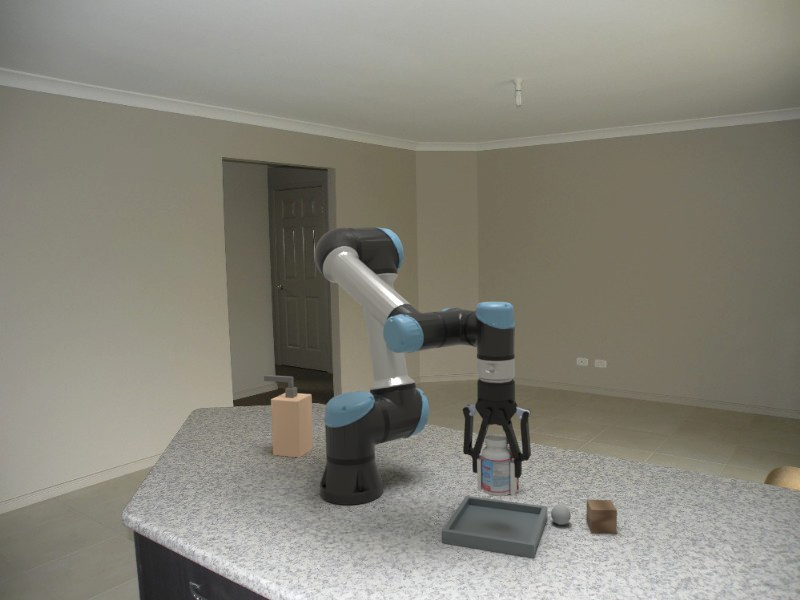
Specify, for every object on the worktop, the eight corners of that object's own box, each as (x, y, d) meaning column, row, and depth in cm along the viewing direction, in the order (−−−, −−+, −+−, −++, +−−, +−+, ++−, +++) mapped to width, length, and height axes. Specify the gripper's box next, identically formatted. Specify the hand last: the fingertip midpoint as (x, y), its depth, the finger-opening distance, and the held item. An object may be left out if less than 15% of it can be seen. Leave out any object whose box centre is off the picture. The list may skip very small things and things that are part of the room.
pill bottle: (479, 486, 128) (478, 433, 127) (508, 484, 129) (507, 432, 128) (485, 497, 122) (485, 442, 121) (515, 496, 123) (515, 441, 122)
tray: (441, 542, 121) (441, 530, 121) (465, 506, 138) (465, 495, 137) (534, 558, 114) (534, 545, 114) (547, 517, 131) (547, 506, 131)
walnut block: (591, 533, 124) (591, 509, 124) (586, 522, 129) (586, 499, 129) (616, 534, 123) (616, 510, 123) (610, 523, 128) (611, 500, 128)
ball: (549, 526, 127) (549, 508, 127) (552, 518, 131) (552, 500, 130) (569, 529, 126) (569, 510, 125) (571, 521, 129) (571, 503, 129)
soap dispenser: (313, 448, 180) (311, 374, 178) (299, 458, 172) (296, 380, 170) (275, 444, 184) (272, 372, 182) (259, 453, 176) (256, 378, 174)
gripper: (445, 379, 123) (447, 491, 125) (541, 385, 116) (541, 503, 118) (455, 372, 130) (457, 478, 132) (546, 377, 123) (547, 488, 125)
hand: (497, 489), depth 125 cm, fingers closed on pill bottle, 6 cm apart
